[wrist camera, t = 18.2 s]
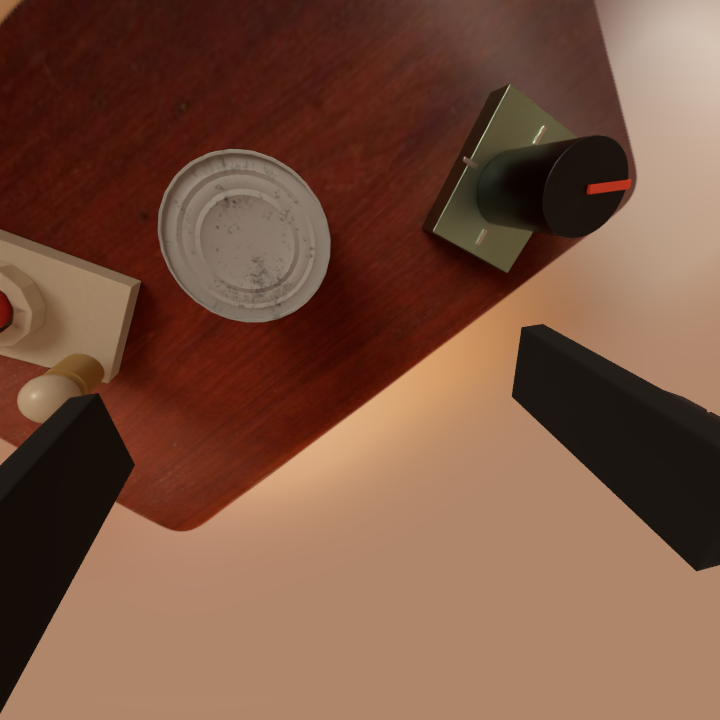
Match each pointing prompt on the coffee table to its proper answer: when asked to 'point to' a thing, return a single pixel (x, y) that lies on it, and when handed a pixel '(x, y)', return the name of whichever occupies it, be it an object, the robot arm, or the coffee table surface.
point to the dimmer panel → (459, 194)
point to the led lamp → (59, 386)
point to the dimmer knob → (555, 186)
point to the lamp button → (4, 310)
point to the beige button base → (63, 306)
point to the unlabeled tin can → (244, 235)
